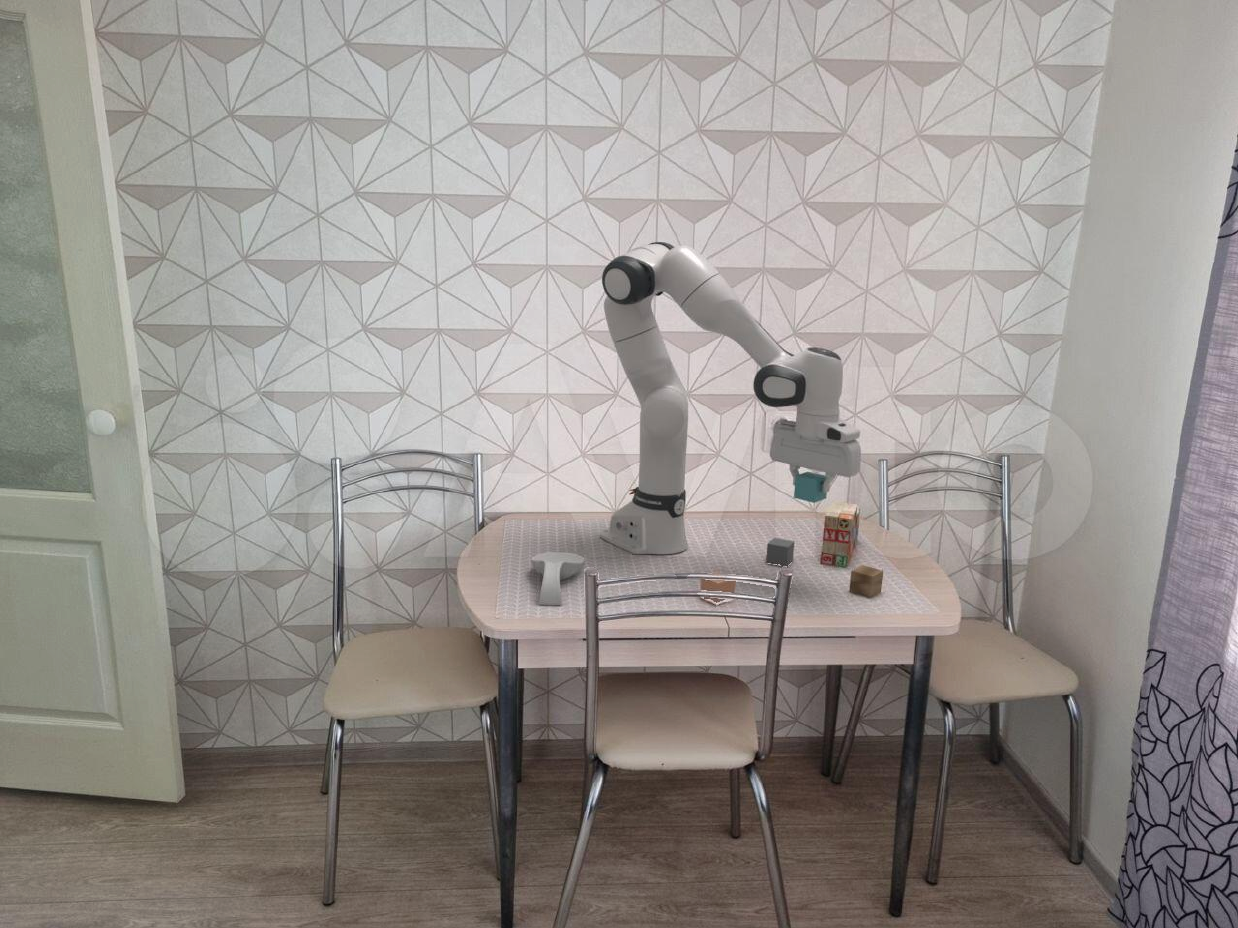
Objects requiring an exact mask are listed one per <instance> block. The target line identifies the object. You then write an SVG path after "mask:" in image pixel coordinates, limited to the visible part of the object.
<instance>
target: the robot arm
mask: <svg viewBox="0 0 1238 928" xmlns="http://www.w3.org/2000/svg"><path fill="white" fill-rule="evenodd" d="M601 284H602V288H603V291H604V293H605V295H606V297H605V299H604V301H603V309H604V310H603V311H604V316H605V320H606V324H607V328H608V331H609V334H610V336H611V340H612V342H613V345H614V348H615V350H616V353H617V355H618V358H619V361H620V363H621V366H622V369H623V371H624V374H625V375H626V378H627V379H628V381H629V383H630V385H631V387H632V389H633V392H634V393H635V396H636V399H637V401H638V403H639V404H640V416H639V423H640V424H639V468H638V486H637V487H635V488H633V489H629V495H633V494H634V495H633V496H632V500H631V501H629V502H628V503H626V504H625V505H624V506H622V507H621V508H619V509H617V510H616V511H615V512H613V514H612V516H611V518H610V521H609V522H610V523H609V527H607V528H605V529H604V530H601V532H600V533H599V538H600V539H602V540H604V541H607V542H608V543H610V544H613V545H614V546H617V547H618V548H620V549H623V550H625V551H628V552H629V553H631V554H633V555H671V554H678V553H681V552H684V551H685V550H687V549H688V547H689V545H688V540H687V535H686V528H685V515H684V513H685V509H686V508H685V507H686V502H687V501H686V496H687V495H686V493H687V491H686V490H685V479H686V464H687V463H686V462H687V461H686V459H687V446H688V445H687V443H688V442H687V441H688V427H689V426H688V425H689V400H688V397H687V395H686V393H685V389H684V388H683V385H682V383H681V381H680V378H679V375H678V374H677V373H678V372H677V371H676V368H675V366H674V364H673V362H672V359H671V357H670V355H669V351H668V349H667V346H666V344H665V341H664V337H663V336H662V333H661V331H660V328H659V326H658V325H659V324H658V323H657V320H656V317H655V315H654V313H653V309H652V302H653V299H654V297H655V296H656V297H658V296H659V297H660V296H661V295H662V294H664V293H666V294H668V296H670V297H671V298H672V299H673V300H674V302H675V303H676V305H678V306H679V308H680V309H681V311H683V312H684V314H685V315H686V316H687V317H688V318H689V319H690V320H691V321H692V322H694V323H695V324H696V325H697V326H699V328H701V329H702V330H704V331H708V332H711V333H716V334H720V335H723V336H725V337H728V338H729V339H732V340H733V341H734V342H736V343H737V344H738V345H739V346H740V347H741V348H742V349H743V350H744V351H745V353H747V355H749V357H750V358H752V360H753V361H754V362H755V363H756V364H757V365H758V367H760V369H758V371H757V373H756V374H755V376H754V378H753V384H752V385H753V386H752V387H753V392H754V394H755V397H756V398H757V400H759V402H760V403H761V404H763V405H765V406H768V407H772V408H782V407H791V406H792V407H793V406H794V407H796V414H795V416H796V417H795V421H794V420H787V419H783V418H782V419H780V420H778V421H776V422H775V423H774V425H773V429H772V430H773V431H772V433H773V434H772V435H773V436H772V439H771V443H770V449H769V457H770V459H771V461H773V462H777V463H781V464H787V465H789V472H790V473H791V476H792V477H793V480H792V481H793V482H792V485H793V486H795V479H796V475H799V474H800V472H799V469H801V468H805V469H808V470H813V471H818V472H823V473H825V474H824V475H825V477H828V478H827V479H826V481H825V482H824V483H821V484H820V489H819V491H820V492H824V493H827V494H828V493H829V491H830V487H831V484H832V483H833V481H834V480H835V478H836V477H837V476H839V477H845V478H852V477H855V476H857V475H858V473H860V470H861V463H862V462H861V461H862V457H861V456H862V451H861V450H862V449H861V445H860V442H859V441H858V440H857V439H859V438H860V436H861V431H860V429H859V428H858V427H856V426H854V425H852V424H850V423H849V422H848V421H845V420H844V419H842V418H840V407H839V406H840V405H839V402H840V398H841V396H842V392H843V391H842V390H843V377H844V374H843V373H844V372H843V369H844V368H843V367H844V366H843V361H842V358H841V357H840V355H838V354H837V353H836V352H834V351H832V350H829V349H825V348H823V347H822V348H821V347H815V346H813V347H807V348H806V349H805V350H803V351H801V352H799V353H797V354H793V353H791V352H788V351H787V350H785V349H784V348H783V347H782V346H781V345H780V344H779V343H778V342H777V340H775V339H774V338H773V337H772V335H771V334H770V333H769V332H768V331H767V330H766V329H765V328H764V327H763V325H761V324H760V323H759V321H757V320H756V319H755V317H754V316H753V315H752V314H751V313H750V311H749V310H748V308H747V307H746V306H745V305H744V303H743V302H742V301H741V300H740V298H739V296H738V295H737V294H736V292H735V291H734V289H732V287H731V286H730V284H729V283H728V282H727V281H726V279H725V278H724V277H723V275H721V273H720V271H718V270H717V269H716V268H715V267H714V265H712V263H710V262H709V260H708V259H706V258H705V257H704V256H703V255H701V254H700V253H699V252H698V251H697V250H695V249H694V248H693V247H691V246H689V245H685V244H683V245H682V244H681V245H677V246H674V245H673V244H671V243H668V242H663V241H655V242H653V241H652V242H650V243H649V244H645V245H641V246H639V247H635V248H632V249H631V250H630V251H628V252H626V253H625V254H622V255H619V256H617V257H615V258H614V259H612V260H611V261H610V262H608V264H607V265H606V266H605V267H604V269H603V272H602V276H601Z"/></svg>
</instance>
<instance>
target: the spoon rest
mask: <svg viewBox="0 0 1238 928" xmlns="http://www.w3.org/2000/svg"><path fill="white" fill-rule="evenodd" d="M530 561H531V564H532V566H533V567H534V568H535V571H537V572H538V574H540V575H541V576H542V583H541V586H540V587H541V588H540V592H539V597H538V605H540V606H562V605H563V598H562V588H561V581H563V580H564V581H565V580H568V579H569V578H571V577H572V576H574V575H576V574H577V573H578V572H579V571H580V570H581V569H582V567H583V566H584V564H585V558H584V557H583V556H581V555H580V554H577V553H573V552H572V553H571V552H555V551H554V552H544V553H543V552H542V553H539V554H536V555H534V556H532V557H531V558H530Z"/></svg>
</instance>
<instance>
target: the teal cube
mask: <svg viewBox="0 0 1238 928" xmlns="http://www.w3.org/2000/svg"><path fill="white" fill-rule="evenodd" d="M827 478H828V477H825V474H820V473H816V472H812V471H805V472H802V473H799V475H796V479H795V485H794V492H793V498H794V499H798V500H800V501H801V500H802V501H806V502H810V503H814V504H815V503H818V502H820V501H824V500H826V499H827V495H828V492H827V493H824V492H820V491H819V489H820V484H821V483H824V482H825V481H826V479H827Z"/></svg>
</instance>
